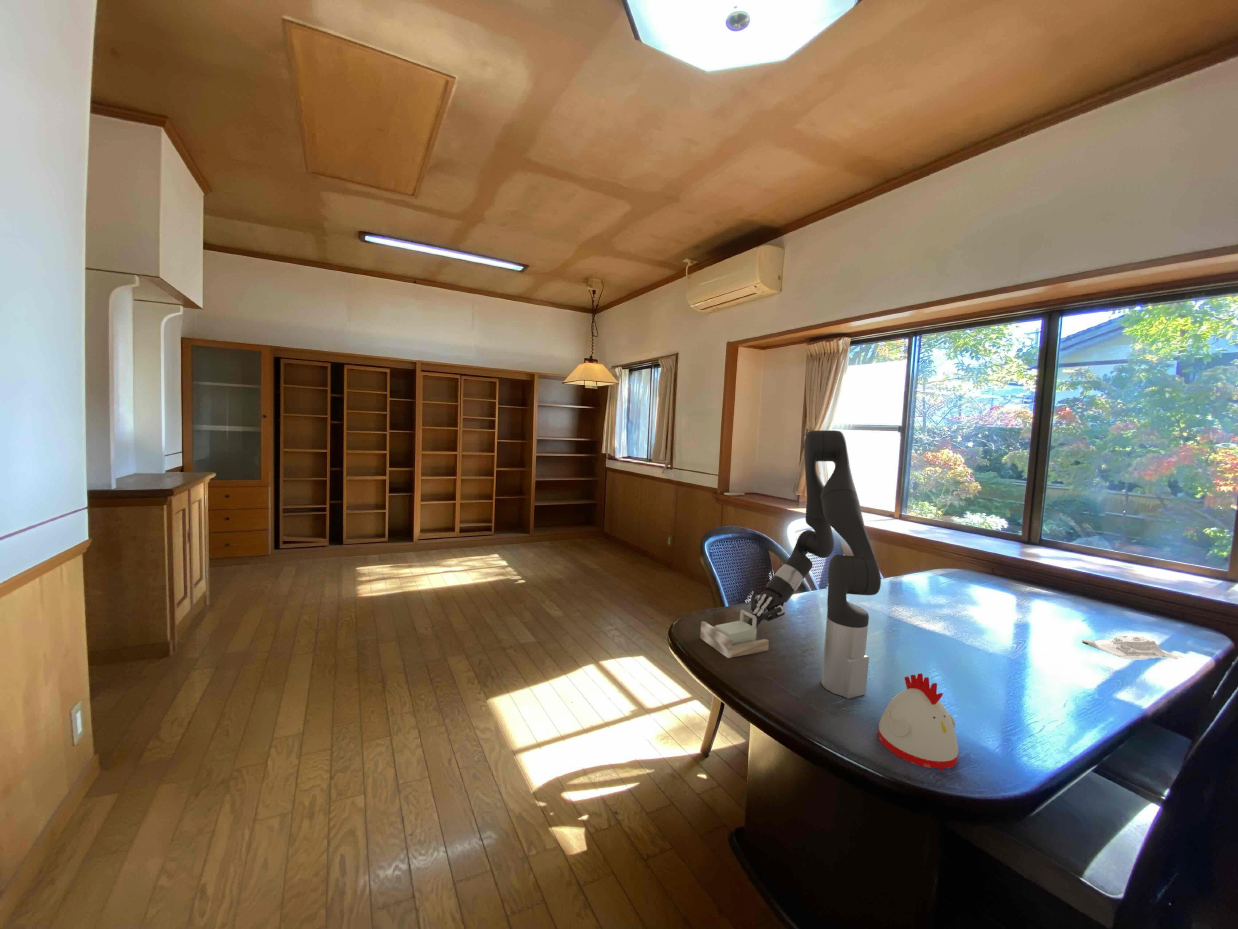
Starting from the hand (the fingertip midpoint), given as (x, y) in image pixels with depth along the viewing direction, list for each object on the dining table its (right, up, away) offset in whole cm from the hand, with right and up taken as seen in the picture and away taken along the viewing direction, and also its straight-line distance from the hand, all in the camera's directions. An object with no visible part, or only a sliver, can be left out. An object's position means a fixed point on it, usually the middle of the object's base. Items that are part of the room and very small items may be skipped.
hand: (750, 626), depth 145 cm
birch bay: (-5, -4, -2) cm, 7 cm away
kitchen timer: (+22, -9, -45) cm, 51 cm away
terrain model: (+123, -11, +9) cm, 123 cm away
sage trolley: (-5, -5, -4) cm, 8 cm away
